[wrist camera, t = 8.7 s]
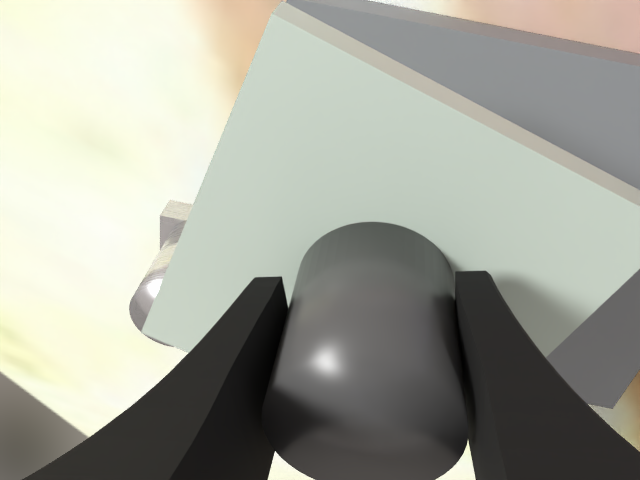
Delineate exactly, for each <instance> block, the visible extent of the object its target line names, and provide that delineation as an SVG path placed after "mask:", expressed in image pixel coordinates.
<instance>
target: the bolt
mask: <svg viewBox="0 0 640 480" xmlns="http://www.w3.org/2000/svg"><path fill="white" fill-rule="evenodd" d="M192 207H193V205H192V204H187V203H182V202H177V201H172V200H170V201H169V202H168V204H167V205H166V207H165V209H164V210H163V212H162V213H161V215H160V251H159V253H158V255H157V257H156V258H155V260H154V262H153V263H152V265H151V267H150V268H149V270H148V272H147V274H146V275H145V277H144V279H143V280H142V282H141V284H140V285H139V287H138V289H137V291H136V292H135V294H134V296H133V297H132V299H131V302H130V307H129V310H130V315H131V318H132V321H133V322H134V324H135V326H136V327H137V328H138V329H139V330H140V331H142V329H143V326H144V324H145V321H146V319H147V316H148V314H149V312H150V309H151V307H152V304H153V302H154V299H155V297H156V294H157V292H158V290H159V287H160V285H161V282H162V280H163V277H164V275H165V272H166V270H167V268H168V265H169V263H170V260H171V258H172V255H173V253H174V251H175V248H176V246H177V243H178V241H179V238H180V236H181V233H182V231H183V229H184V226H185V224H186V221H187V219H188V216H189V214H190V212H191V209H192ZM144 335H145V334H144ZM145 336H147V337H148V338H150V339H152V340H153V341H155V342H158V343H160V344H163V345H167V346H171V345H169V344H166V343H164V342H162V341H159V340H157V339H155V338H152V337H150V336H148V335H145ZM171 347H174V346H171Z"/></svg>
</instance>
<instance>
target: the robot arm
mask: <svg viewBox="0 0 640 480" xmlns="http://www.w3.org/2000/svg"><path fill="white" fill-rule="evenodd" d="M455 304H456V313H457V323H458V333H459V341H460V348H461V356H462V367H463V378H464V389H465V399H466V410H467V421H468V440H469V446H470V451H471V456H472V461H473V467H474V472H475V477H476V480H640V452H639V451H638V450H637V449H636V448H635V447H633V446H632V445H631V444H630V443H629V442H627V441H626V440H625V439H624V438H623V437H622V436H620V435H619V434H618V433H617V432H616V431H615V430H614V429H612V428H611V427H610V426H609V425H608V424H607V423H606V422H605V421H604V420H603V419H602V418H601V417H600V416H599V415H598V414H597V413H596V412H595V411H594V410H593V409H592V408H591V407H590V406H589V405H588V404H587V403H586V402H585V401H584V400H583V399H582V398H581V397H580V396H579V395H578V394H577V393H576V392H575V391H574V390H573V389H572V388H571V387H570V386H569V384H568V383H567V382H566V381H565V380H564V379H563V378H562V377H561V375H560V374H559V373H558V372H557V371H556V370H555V368H554V367H553V366H552V365H551V364H550V362H549V361H548V360H547V359H546V358H545V356H544V355H543V354H542V353H541V351H540V350H539V349H538V348H537V346H536V345H535V344H534V342H533V341H532V340H531V338H530V337H529V335H528V334H527V333H526V331H525V330H524V329H523V327H522V326H521V324H520V323H519V322H518V320H517V319H516V317H515V316H514V314H513V313H512V311H511V310H510V308H509V306H508V305H507V303H506V302H505V300H504V298H503V297H502V295H501V293H500V292H499V290H498V288H497V286H496V284H495V282H494V280H493V278H492V276H491V275H490V274H489V273H488V272H487V271H486V270H485V271H455ZM287 312H288V304H287V299H286V294H285V289H284V284H283V279H282V276H278V277H255V278H254V279H253V280H252V281H251V282H250V283H249V284H248V285H247V287H246V288H245V289H244V290H243V291H242V293H241V294H240V295H239V296H238V297H237V299H236V300H235V301H234V302H233V303H232V305H231V306H230V307H229V308H228V309H227V311H226V312H225V313H224V314H223V315H222V317H221V318H220V319H219V320H218V321H217V322H216V324H215V325H214V326H213V327H212V328H211V329H210V330H209V331H208V333H207V334H206V335H205V336H204V337H203V338H202V339H201V341H200V342H199V343H198V344H197V345H196V346H195V347H194V348H193V349H192V350H191V351H190V352H189V353H188V354H187V355H186V356H185V357H184V358H183V359H182V360H181V361H180V362H179V363H178V364H177V365H176V366H175V368H174V369H173V370H172V371H171V372H170V373H168V374H167V375H166V376H165V377H164V378H163V379H162V380H161V381H160V382H159V383H158V384H157V385H156V386H154V387H153V388H152V389H151V390H150V391H149V392H147V393H146V394H145V395H144V396H143V397H142V398H140V399H139V400H138V401H137V402H136V403H134V404H133V405H132V406H131V407H130V408H128V409H127V410H126V411H124V412H123V413H122V414H120V415H119V416H118V417H116V418H115V419H114V420H112V421H111V422H110V423H108V424H107V425H106V426H104V427H103V428H102V429H100V430H99V431H98V432H96V433H95V434H94V435H92V436H91V437H89V438H88V439H86V440H85V441H83V442H82V443H80V444H79V445H77V446H76V447H74V448H73V449H72V450H70V451H68V452H67V453H65V454H64V455H62V456H61V457H59V458H57V459H56V460H55V461H53V462H51V463H49V464H48V465H46V466H45V467H43V468H41V469H40V470H38V471H36V472H35V473H33V474H31V475H29V476H28V477H26V478H24V479H22V480H268V476H269V472H270V468H271V464H272V460H273V456H274V452H275V450H274V449H273V447H272V446H271V444H270V443H269V441H268V439H267V437H266V435H265V433H264V429H263V426H262V418H261V415H262V407H263V403H264V399H265V395H266V392H267V388H268V384H269V380H270V376H271V373H272V369H273V365H274V361H275V357H276V354H277V350H278V346H279V342H280V339H281V335H282V331H283V327H284V323H285V320H286V316H287Z"/></svg>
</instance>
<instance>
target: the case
mask: <svg viewBox="0 0 640 480" xmlns="http://www.w3.org/2000/svg"><path fill="white" fill-rule="evenodd" d="M286 3H288V4H289V5H291V6H293V7H295V8H297V9H299V10H301V11H303V12H305V13H306V14H308V15H310V16H312V17H314V18H316V19H318V20H320V21H322V22H323V23H325V24H327V25H329V26H331V27H333V28H335V29H337V30H339V31H340V32H342V33H344V34H346V35H348V36H350V37H352V38H354V39H355V40H357V41H359V42H361V43H363V44H365V45H367V46H369V47H371V48H372V49H374V50H376V51H378V52H380V53H382V54H384V55H386V56H388V57H389V58H391V59H393V60H395V61H397V62H399V63H401V64H403V65H405V66H406V67H408V68H410V69H412V70H414V71H416V72H418V73H420V74H422V75H423V76H425V77H427V78H429V79H431V80H433V81H435V82H437V83H438V84H440V85H442V86H444V87H446V88H448V89H450V90H452V91H454V92H455V93H457V94H459V95H461V96H463V97H465V98H467V99H469V100H471V101H472V102H474V103H476V104H478V105H480V106H482V107H484V108H486V109H488V110H489V111H491V112H493V113H495V114H497V115H499V116H501V117H503V118H505V119H506V120H508V121H510V122H512V123H514V124H516V125H518V126H520V127H522V128H523V129H525V130H527V131H529V132H531V133H533V134H535V135H537V136H538V137H540V138H542V139H544V140H546V141H548V142H550V143H552V144H554V145H555V146H557V147H559V148H561V149H563V150H565V151H567V152H569V153H571V154H572V155H574V156H576V157H578V158H580V159H582V160H584V161H586V162H588V163H589V164H591V165H593V166H595V167H597V168H599V169H601V170H603V171H605V172H606V173H608V174H610V175H612V176H614V177H616V178H618V179H620V180H622V181H623V182H625V183H627V184H629V185H631V186H633V187H635V188H637V189H638V190H640V54H637V53H632V52H627V51H622V50H617V49H612V48H606V47H601V46H596V45H591V44H586V43H581V42H576V41H571V40H566V39H561V38H556V37H551V36H546V35H540V34H535V33H530V32H525V31H520V30H515V29H510V28H505V27H500V26H495V25H490V24H485V23H479V22H474V21H469V20H464V19H459V18H454V17H449V16H444V15H439V14H434V13H429V12H424V11H419V10H413V9H408V8H403V7H398V6H393V5H388V4H383V3H378V2H373V1H368V0H287V2H286ZM546 359H547V360H548V361H549V362H550V364H551V365H552V366H553V367H554V368H555V370H556V371H557V372H558V373H559V374H560V375H561V377H562V378H563V379H564V380H565V381H566V382H567V383H568V384H569V386H570V387H571V388H572V389H573V390H574V391H575V392H576V393H577V394H578V395H579V396H580V397H581V398H582V399H583V400H584V401H585V402H586V403H587V404H592V405H597V406H601V407H606V408H611V409H613V407H614V406H615V404H616V403H617V401H618V400H619V399H620V397H621V396H622V394H623V393H624V391H625V390H626V388H627V387H628V386H629V384H630V383H631V381H632V380H633V378H634V377H635V375H636V374H637V373H638V371H639V370H640V269H639V270H638V271H637V272H636V273H635V274H634V275H633V276H631V277H630V278H629V279H628V280H627V281H626V282H625V283H624V284H623V285H622V286H621V287H620V288H619V289H618V290H617V291H616V292H615V293H614V294H612V295H611V296H610V297H609V298H608V299H607V300H606V301H605V302H604V303H603V304H602V305H601V306H600V307H599V308H598V309H597V310H596V311H595V312H593V313H592V314H591V315H590V316H589V317H588V318H587V319H586V320H585V321H584V322H583V323H582V324H581V325H580V326H579V327H578V328H577V329H575V330H574V331H573V332H572V333H571V334H570V335H569V336H568V337H567V338H566V339H565V340H564V341H563V342H562V343H561V344H560V345H559V346H558V347H556V348H555V349H554V350H553V351H552V352H551V353H550V354H549V355H548V356H547V357H546Z"/></svg>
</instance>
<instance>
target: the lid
mask: <svg viewBox="0 0 640 480" xmlns="http://www.w3.org/2000/svg"><path fill="white" fill-rule="evenodd" d="M639 269H640V190H638V189H637V188H635V187H633V186H631V185H629V184H627V183H625V182H623V181H622V180H620V179H618V178H616V177H614V176H612V175H610V174H608V173H606V172H605V171H603V170H601V169H599V168H597V167H595V166H593V165H591V164H589V163H588V162H586V161H584V160H582V159H580V158H578V157H576V156H574V155H572V154H571V153H569V152H567V151H565V150H563V149H561V148H559V147H557V146H555V145H554V144H552V143H550V142H548V141H546V140H544V139H542V138H540V137H538V136H537V135H535V134H533V133H531V132H529V131H527V130H525V129H523V128H522V127H520V126H518V125H516V124H514V123H512V122H510V121H508V120H506V119H505V118H503V117H501V116H499V115H497V114H495V113H493V112H491V111H489V110H488V109H486V108H484V107H482V106H480V105H478V104H476V103H474V102H472V101H471V100H469V99H467V98H465V97H463V96H461V95H459V94H457V93H455V92H454V91H452V90H450V89H448V88H446V87H444V86H442V85H440V84H438V83H437V82H435V81H433V80H431V79H429V78H427V77H425V76H423V75H422V74H420V73H418V72H416V71H414V70H412V69H410V68H408V67H406V66H405V65H403V64H401V63H399V62H397V61H395V60H393V59H391V58H389V57H388V56H386V55H384V54H382V53H380V52H378V51H376V50H374V49H372V48H371V47H369V46H367V45H365V44H363V43H361V42H359V41H357V40H355V39H354V38H352V37H350V36H348V35H346V34H344V33H342V32H340V31H339V30H337V29H335V28H333V27H331V26H329V25H327V24H325V23H323V22H322V21H320V20H318V19H316V18H314V17H312V16H310V15H308V14H306V13H305V12H303V11H301V10H299V9H297V8H295V7H293V6H291V5H289V4H288V3H286V2H284V1H281V2H280V4H279V5H278V6H277V7H276V9H275V10H274V11H273V12H272V14H271V16H270V19H269V21H268V24H267V26H266V29H265V31H264V34H263V36H262V38H261V41H260V43H259V46H258V48H257V51H256V53H255V55H254V58H253V60H252V63H251V65H250V68H249V70H248V73H247V75H246V77H245V80H244V82H243V85H242V87H241V90H240V92H239V94H238V97H237V99H236V102H235V104H234V107H233V109H232V112H231V114H230V116H229V119H228V121H227V124H226V126H225V129H224V131H223V134H222V136H221V138H220V141H219V143H218V146H217V148H216V151H215V153H214V155H213V158H212V160H211V163H210V165H209V168H208V170H207V173H206V175H205V177H204V180H203V182H202V185H201V187H200V190H199V192H198V194H197V197H196V199H195V202H194V204H193V207H192V209H191V212H190V214H189V216H188V219H187V221H186V224H185V226H184V229H183V231H182V233H181V236H180V238H179V241H178V243H177V246H176V248H175V251H174V253H173V255H172V258H171V260H170V263H169V265H168V268H167V270H166V272H165V275H164V277H163V280H162V282H161V285H160V287H159V290H158V292H157V294H156V297H155V299H154V302H153V304H152V307H151V309H150V312H149V314H148V316H147V319H146V321H145V324H144V326H143V329H142V331H141V333H143V334H145V335H148V336H150V337H152V338H155V339H157V340H159V341H162V342H164V343H166V344H169V345H171V346H174V347H176V348H178V349H181V350H183V351H185V352H188V353H189V352H190V351H191V350H192V349H193V348H194V347H195V346H196V345H197V344H198V343H199V342H200V341H201V339H202V338H203V337H204V336H205V335H206V334H207V333H208V331H209V330H210V329H211V328H212V327H213V326H214V325H215V324H216V322H217V321H218V320H219V319H220V318H221V317H222V315H223V314H224V313H225V312H226V311H227V309H228V308H229V307H230V306H231V305H232V303H233V302H234V301H235V300H236V299H237V297H238V296H239V295H240V294H241V293H242V291H243V290H244V289H245V288H246V287H247V285H248V284H249V283H250V282H251V281H252V280H253V279H254V278H255V277H278V276H282V279H283V284H284V289H285V294H286V299H287V304H288V312H287V316H286V320H285V323H284V327H283V331H282V335H281V339H280V342H279V346H278V350H277V354H276V357H275V361H274V365H273V369H272V373H271V376H270V380H269V384H268V388H267V392H266V395H265V399H264V403H263V407H262V415H261V418H262V426H263V429H264V433H265V435H266V437H267V439H268V441H269V443H270V444H271V446H272V447H273V449H274V450H275V451H276V452H277V453H278V454H279V456H280V457H281V458H282V459H284V460H285V461H286V462H287V463H288V464H289V465H291V466H292V467H294V468H295V469H297V470H298V471H300V472H301V473H303V474H305V475H307V476H309V477H311V478H313V479H315V480H435V479H437V478H439V477H440V476H442V475H444V474H445V473H446V472H447V471H449V470H450V469H451V468H452V467H453V466H454V465H455V464H456V463H457V462H458V461H459V459H460V458H461V456H462V455H463V453H464V450H465V448H466V446H467V441H468V421H467V410H466V399H465V389H464V378H463V367H462V356H461V348H460V341H459V333H458V323H457V313H456V304H455V271H485V270H486V271H487V272H488V273H489V274H490V275H491V276H492V278H493V280H494V282H495V284H496V286H497V288H498V290H499V292H500V293H501V295H502V297H503V298H504V300H505V302H506V303H507V305H508V306H509V308H510V310H511V311H512V313H513V314H514V316H515V317H516V319H517V320H518V322H519V323H520V324H521V326H522V327H523V329H524V330H525V331H526V333H527V334H528V335H529V337H530V338H531V340H532V341H533V342H534V344H535V345H536V346H537V348H538V349H539V350H540V351H541V353H542V354H543V355H544V356H545V358H546V357H547V356H548V355H549V354H550V353H551V352H552V351H553V350H554V349H555V348H556V347H558V346H559V345H560V344H561V343H562V342H563V341H564V340H565V339H566V338H567V337H568V336H569V335H570V334H571V333H572V332H573V331H574V330H575V329H577V328H578V327H579V326H580V325H581V324H582V323H583V322H584V321H585V320H586V319H587V318H588V317H589V316H590V315H591V314H592V313H593V312H595V311H596V310H597V309H598V308H599V307H600V306H601V305H602V304H603V303H604V302H605V301H606V300H607V299H608V298H609V297H610V296H611V295H612V294H614V293H615V292H616V291H617V290H618V289H619V288H620V287H621V286H622V285H623V284H624V283H625V282H626V281H627V280H628V279H629V278H630V277H631V276H633V275H634V274H635V273H636V272H637V271H638V270H639Z"/></svg>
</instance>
